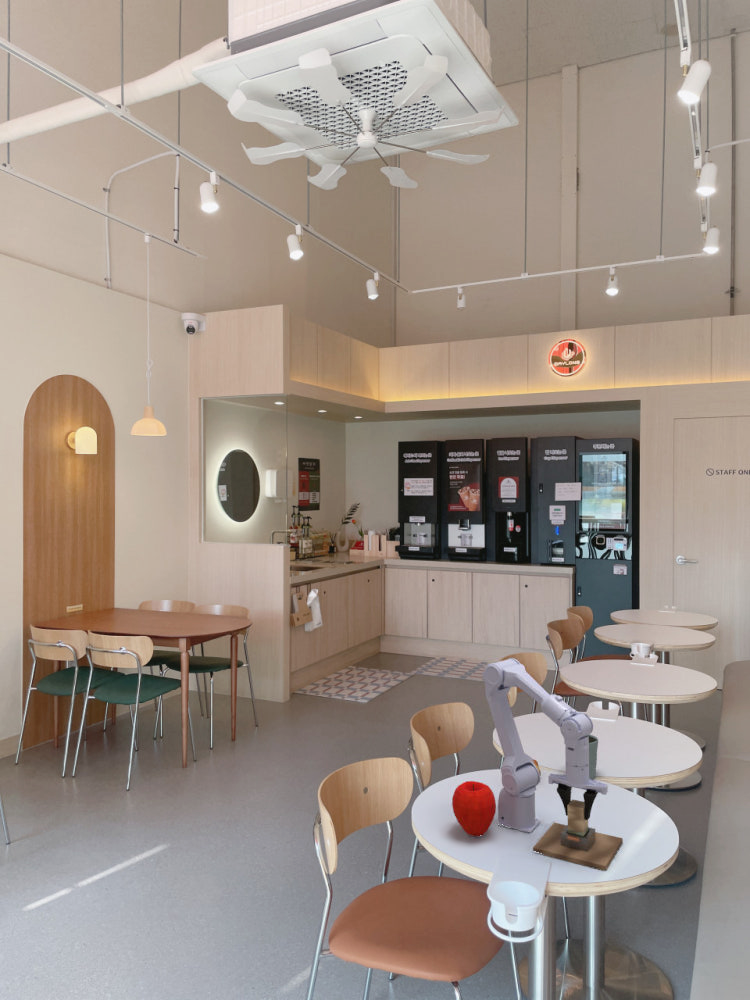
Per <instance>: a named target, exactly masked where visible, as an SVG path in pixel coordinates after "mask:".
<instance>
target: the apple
mask: <svg viewBox="0 0 750 1000" xmlns="http://www.w3.org/2000/svg"><path fill="white" fill-rule="evenodd" d="M451 800H452V801H451V805H452V806H451V807H452V811H453V814H454V816H455V819H456V821H457V822H458V824H459V826H460V827H461V828H462V830H463V831H464V832H465V833H466V834H467V835H469V836H471V835H473V837H478V836H479V837H481V836H480V835H482V836H484V835H485V834H486V833H487V832H488V831H489V828H490V826H491V825H492V823H493V822H494V821H493V820H494V817H495V815H496V811H497V805H496V797H495V794H494V792H493V790H492V789H491V788H490V787H489V785H487V784H485V783H483V782H479V781H473V780H470V781H469V780H468V781H465V782H462V783H460V784H459V785H457V787H456V788H455V790H454V792H453V795H452V799H451Z"/></svg>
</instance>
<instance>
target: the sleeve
mask: <svg viewBox="0 0 750 1000" xmlns="http://www.w3.org/2000/svg"><path fill="white" fill-rule="evenodd" d="M566 825H567V826H566V827H565V829H564V830H563V831H562V832H561V846H565V847H570V848H574V849H578V850H582V851H586V852H588V851H589V849H590V848H591V846H592V845H593V844H594V842H595V841H596V837H595V832H596V828H593V827H589V829H588V831H587V832H586V834H585V835H584V836H580V835H576V834H571V833H568V824H566Z"/></svg>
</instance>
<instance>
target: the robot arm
mask: <svg viewBox="0 0 750 1000" xmlns="http://www.w3.org/2000/svg"><path fill="white" fill-rule="evenodd" d="M481 675H482V678H483V682H484V685H485V686H484V689H485V690H484V691H485V692H484V693H485V697H486V701H487V704H488V706H489V709H490V710H489V711H490V714H491V718H492V721H493V723H494V726H495V730H496V734H497V737H498V740H499V744H500V747H501V750H502V753H503V756H504V759H503V761H502V763H501V765H500V768H499V769H500V772H501V784H502V788H501V789H500V792H499V794H498V798H497V799H498V800H497V801H498V802H497V808H498V810H497V811H498V815H497V816H498V819H497V820H498V822H497V824H499V825H502V824H503V825H504V826H507V827H510V828H509V829H511V828H514V829H513V830H516V829H518V830H517V831H520V830H521V831H520V832H524V831H525V832H524V833H528V832H529V834H531V833H532V832H533V831H534V830H535V829H536V827H537V826H538V825H539V824H540V823H541V819H539V818H536V791H537V786H538V785H539V784H540V782H541V776H540V773H539V770H538V769H537V767H536V766H535V765H534V762H533V759H534V758H532V757H531V756H530V755H528V754H527V753H525V750H524V748H523V744H522V741H521V738H520V735H519V731H518V728H517V725H516V722H515V719H514V716H513V712H512V711H513V710H512V709H511V705H510V703H509V699H508V694H509V692H510V690H511V688H519V689H520V690H521V691H522V692H524V693H525V694H527V696H529V697H531V698H532V699H533V700H535V702H537V703H538V704H539V705H540V707H541V712H542V713H543V714H544V715H546V716H547V718H549V719H550V720H551V721H552V722H553V723H555V725H557V726H558V727H559V731H560V733H561V735H562V737H563V740H564V742H563V744H564V745H565V750H564V751H565V753H564V754H565V774H559V773H558V774H556V773H550V774H549V775H548V776H547V777H548V784H550V785H553V784H555V785H557V788H556V792H557V794H558V795H559V797H560V800H561V802H562V805H563V808H564V812H565V815H566V816H567V817H568V809H567V805H568V804H569V803H570V802H571V800H572V799H571V798H572V789H574V788H575V789H579V790H580V789H581V790H584V793H583V794H582V795H583V802H584V803H585V820H588V821H589V819H590V817H591V813H592V808H593V804H594V802H595V800H596V797H597V796H598V793H600V794H601V795H603V796H605V795H607V794H608V790H609V789H608V784H606V783H602V782H600V781H597V780H595V779H594V780H591V779H589V736H588V735H592V732H593V731H594V724H593V721H592V719H591V718H590V716H588V714H587V713H586V712H582V711H581V712H579V711H577V710H576V709H575V708H573V707H571V706H570V705H569V704H568V703H567V702H565V701H564V700H563V697H562V696H561V695H557V694H555V693H554V694H550V693H548V692H547V691H546V690H545V689H544V688H543V687H542V686H541V685H540V684H539V683H538V681H536V680H535V679H534V678H533V677H532V676H531V675H530V674H529V673H528V672H527V671H526V668H525V665H524V664H522V663H520V661H519V660H518V659H516V658H513V657H509V658H507V659H505V660H501V661H497V662H492V663H488V664H487V665H485V667H484V670H483V672H482V673H481ZM586 736H587V737H586ZM518 766H519V767H518ZM499 825H498V826H499ZM507 827H506V828H507Z"/></svg>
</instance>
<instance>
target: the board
mask: <svg viewBox="0 0 750 1000" xmlns="http://www.w3.org/2000/svg"><path fill="white" fill-rule="evenodd" d="M567 825H568V824H562V823H559V822H553V823H552V824H551V825H550V827H549V828H548V829H547V830H546V832H544V834H543V835H542V836H541V837H540V838H539V840H538V841H537V842H536V844H534V845H533V847H532V852H533V851H536V852H539V853H542V854H544V855H543V856H545V855H546V857H550V858H554V859H557V860H561V861H565V862H569V863H573V864H577V865H581V866H583V867H584V866H585V867H588V866H589V868H592V867H594V868H593V869H596V868H598V869H597V870H600V869H601V871H603V870H605V871H604V872H606V871H607V870H606V869H608V868H609V867H610V864H611V863H612V861H613V859H614V858H615V857H616V855H617V853H618V852H619V850H620V848H621V846H622V845H623V842H624V840H623V839H624V838H623V837H619V836H615V835H610V834H607V833H606V834H605V833H601V832H598V831H595V837H596V841H595V842H594V844H593V845H592V846H591V848H590V849H589V851H588V852H586V851H582V850H578V849H574V848H570V847H565V846H561V832H562V831H563V830H564V829H565V827H566V826H567ZM617 851H618V852H617Z"/></svg>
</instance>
